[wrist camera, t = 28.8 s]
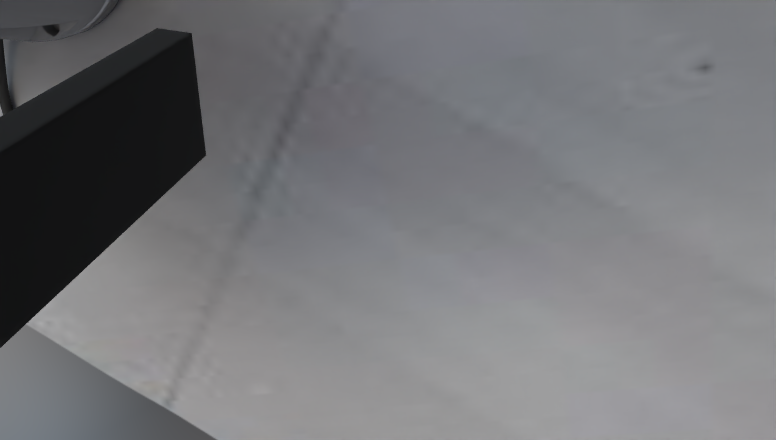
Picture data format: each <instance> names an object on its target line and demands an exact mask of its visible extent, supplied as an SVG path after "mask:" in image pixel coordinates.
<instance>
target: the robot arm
mask: <svg viewBox="0 0 776 440" xmlns="http://www.w3.org/2000/svg"><path fill="white" fill-rule="evenodd" d="M117 2H118V0H0V106H1V109H2V112H3V116H1V117H0V348H1V347H2V346H3V345H4V344H5V343H6V342H7V341H8V340H9V339H10V338H11V337H12V336H14V335H15V334H16V333H17V332H18V331H19V330H20V329H21V328H22V327H23V326H24V325H25V324H26V323H27V322H28V321H30V320H31V319H32V318H33V317H34V316H35V315H36V314H37V313H38V312H39V311H40V310H41V309H42V308H43V307H44V306H46V305H47V304H48V303H49V302H50V301H51V300H52V299H53V298H54V297H55V296H56V295H57V294H58V293H59V292H61V291H62V290H63V289H64V288H65V287H66V286H67V285H68V284H69V283H70V282H71V281H72V280H73V279H74V278H75V277H77V276H78V275H79V274H80V273H81V272H82V271H83V270H84V269H85V268H86V267H87V266H88V265H89V264H90V263H91V262H93V261H94V260H95V259H96V258H97V257H98V256H99V255H100V254H101V253H102V252H103V251H104V250H105V249H106V248H108V247H109V246H110V245H111V244H112V243H113V242H114V241H115V240H116V239H117V238H118V237H119V236H120V235H121V234H122V233H124V232H125V231H126V230H127V229H128V228H129V227H130V226H131V225H132V224H133V223H134V222H135V221H136V220H137V219H138V218H140V217H141V216H142V215H143V214H144V213H145V212H146V211H147V210H148V209H149V208H150V207H151V206H152V205H153V204H155V203H156V202H157V201H158V200H159V199H160V198H161V197H162V196H163V195H164V194H165V193H166V192H167V191H168V190H169V189H171V188H172V187H173V186H174V185H175V184H176V183H177V182H178V181H179V180H180V179H181V178H182V177H183V176H184V175H185V174H187V173H188V172H189V171H190V170H191V169H192V168H193V167H194V166H195V165H196V164H197V163H198V162H199V161H200V160H202V159H203V158H204V157H205V156H206V151H205V142H204V134H203V125H202V117H201V109H200V100H199V92H198V83H197V75H196V66H195V58H194V49H193V41H192V33H187V32H180V31H173V30H166V29H159V28H157V29H155V30H153V31H151V32H150V33H148V34H146V35H144V36H143V37H141V38H139V39H137V40H135V41H134V42H132V43H130V44H128V45H127V46H125V47H123V48H121V49H120V50H118V51H116V52H114V53H113V54H111V55H109V56H107V57H105V58H104V59H102V60H100V61H98V62H97V63H95V64H93V65H91V66H90V67H88V68H86V69H84V70H82V71H81V72H79V73H77V74H75V75H74V76H72V77H70V78H68V79H67V80H65V81H63V82H61V83H60V84H58V85H56V86H54V87H52V88H51V89H49V90H47V91H45V92H44V93H42V94H40V95H38V96H37V97H35V98H33V99H31V100H29V101H28V102H26V103H24V104H22V105H21V106H19V107H17V108H15V109H14V110H13V107H12V104H11V99H10V95H9V90H8V83H7V75H6V66H5V56H4V46H3V39H7V40H18V41H29V42H41V41H50V40H58V39H63V38H66V37H69V36H72V35H75V34H78V33H81V32H84V31H86V30H88V29H90V28H92V27H94V26H95V25H97V24H98V23H100V22H101V21H102V20H103V19H104V18H105V17H106V16H107V15H108V14H109V13H110V12H111V11H112V9H113V8H114V6H115V5H116V3H117Z"/></svg>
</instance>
